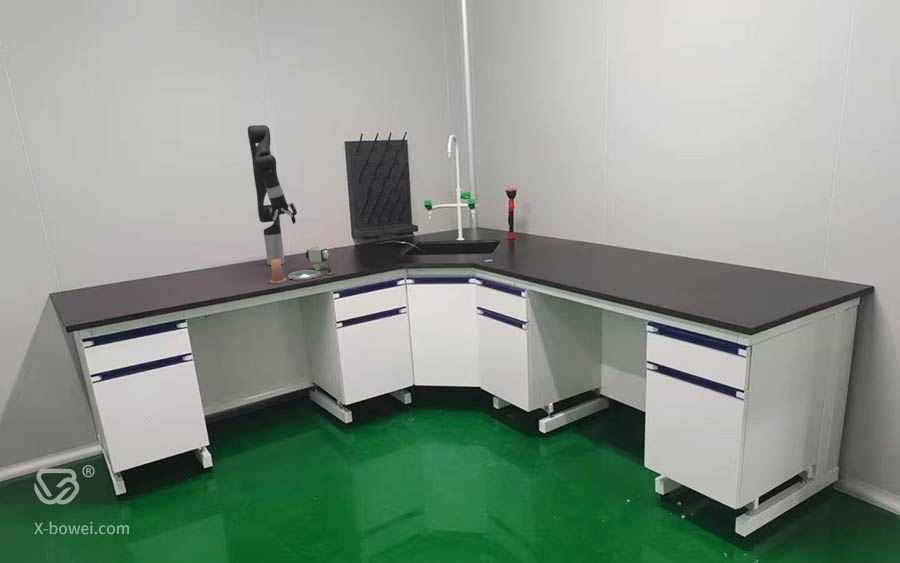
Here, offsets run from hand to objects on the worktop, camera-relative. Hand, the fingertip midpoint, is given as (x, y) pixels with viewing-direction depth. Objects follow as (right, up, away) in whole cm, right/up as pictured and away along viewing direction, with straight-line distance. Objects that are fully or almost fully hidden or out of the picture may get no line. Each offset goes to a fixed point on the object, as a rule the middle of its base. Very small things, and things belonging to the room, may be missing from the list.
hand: (286, 224), depth 296 cm
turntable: (+11, -27, -7) cm, 30 cm away
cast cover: (0, -29, -15) cm, 33 cm away
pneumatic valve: (+15, -23, +8) cm, 29 cm away
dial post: (+23, -26, -4) cm, 35 cm away
